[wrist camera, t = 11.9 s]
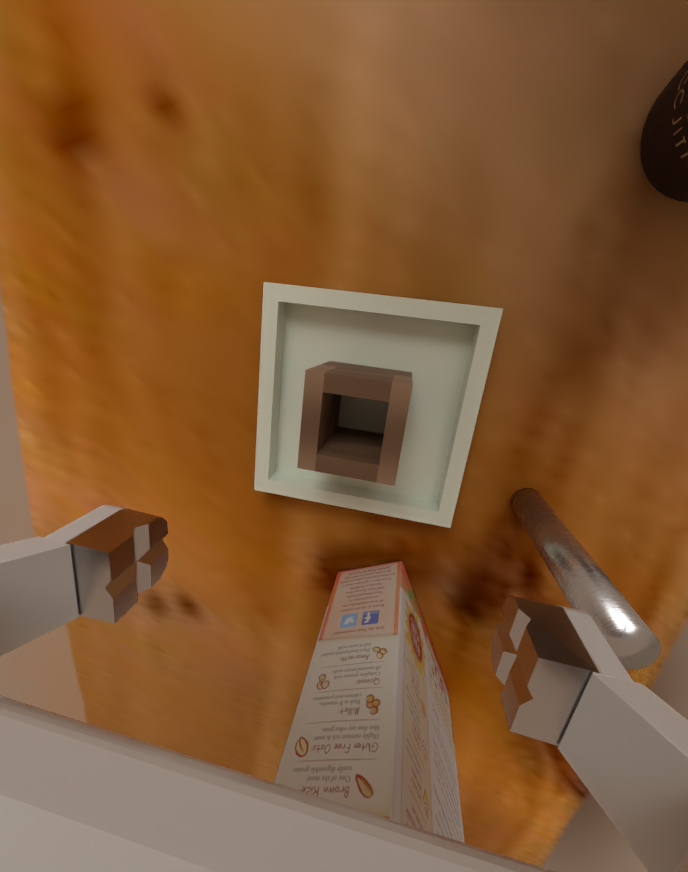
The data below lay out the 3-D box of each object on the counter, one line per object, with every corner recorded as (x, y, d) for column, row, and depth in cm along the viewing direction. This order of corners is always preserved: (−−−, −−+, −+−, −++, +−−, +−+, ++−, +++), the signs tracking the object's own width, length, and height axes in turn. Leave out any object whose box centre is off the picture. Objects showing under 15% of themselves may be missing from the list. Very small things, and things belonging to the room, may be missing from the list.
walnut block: (330, 360, 23) (305, 369, 18) (411, 372, 23) (412, 385, 17) (322, 437, 25) (297, 468, 19) (398, 450, 24) (394, 485, 19)
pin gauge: (515, 485, 24) (609, 621, 13) (545, 491, 24) (669, 633, 13) (507, 511, 25) (591, 662, 13) (537, 516, 24) (648, 675, 13)
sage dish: (276, 286, 23) (263, 281, 21) (494, 310, 21) (503, 308, 19) (265, 478, 27) (254, 489, 25) (447, 513, 26) (450, 528, 24)
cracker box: (333, 569, 29) (166, 1091, 9) (404, 556, 27) (393, 1148, 7) (384, 700, 32) (343, 1308, 12) (451, 694, 30) (531, 1380, 10)
